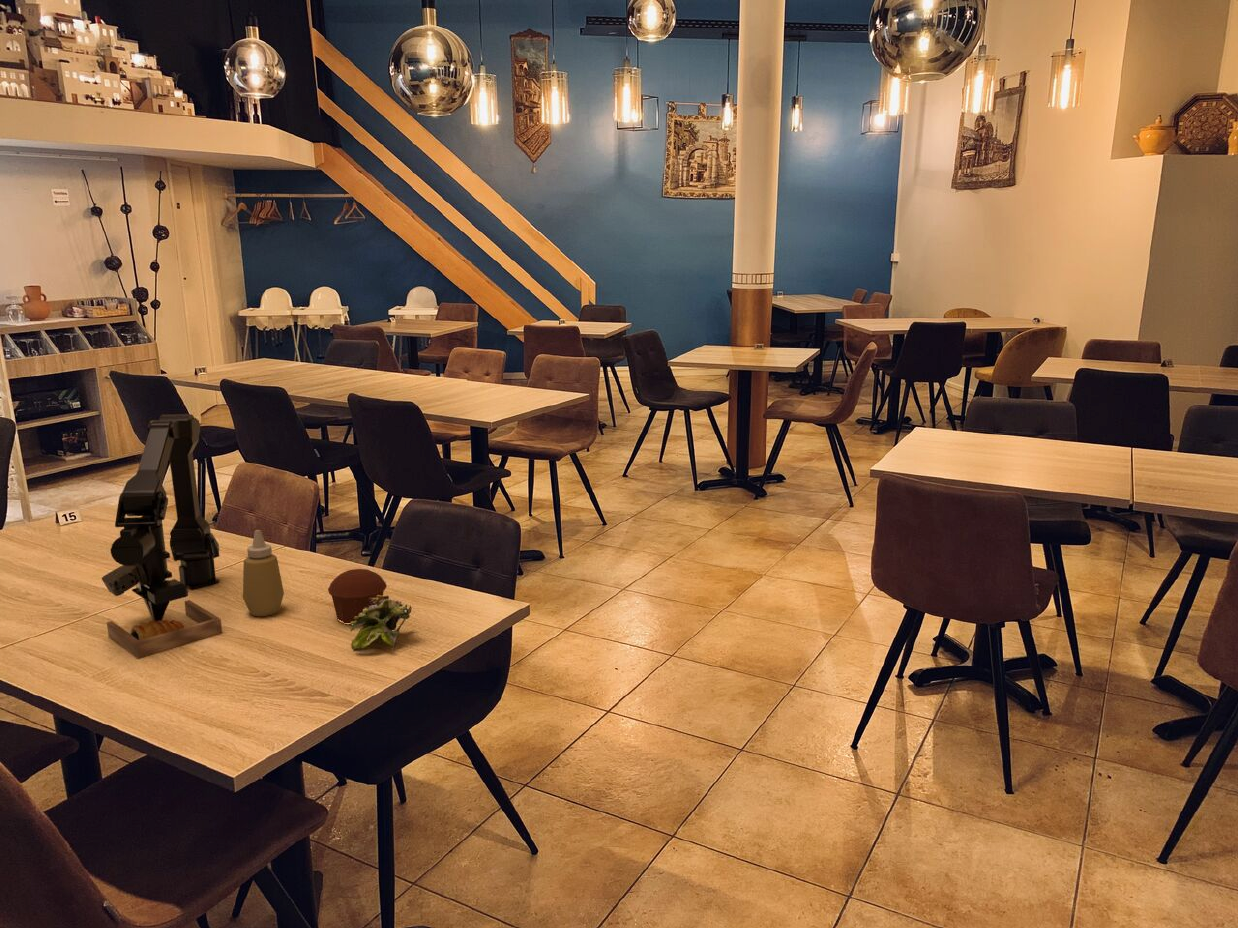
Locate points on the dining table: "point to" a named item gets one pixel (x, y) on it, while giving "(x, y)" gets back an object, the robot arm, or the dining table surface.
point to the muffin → (355, 592)
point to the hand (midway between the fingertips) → (157, 622)
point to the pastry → (154, 628)
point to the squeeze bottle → (261, 579)
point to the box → (169, 633)
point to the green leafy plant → (379, 621)
